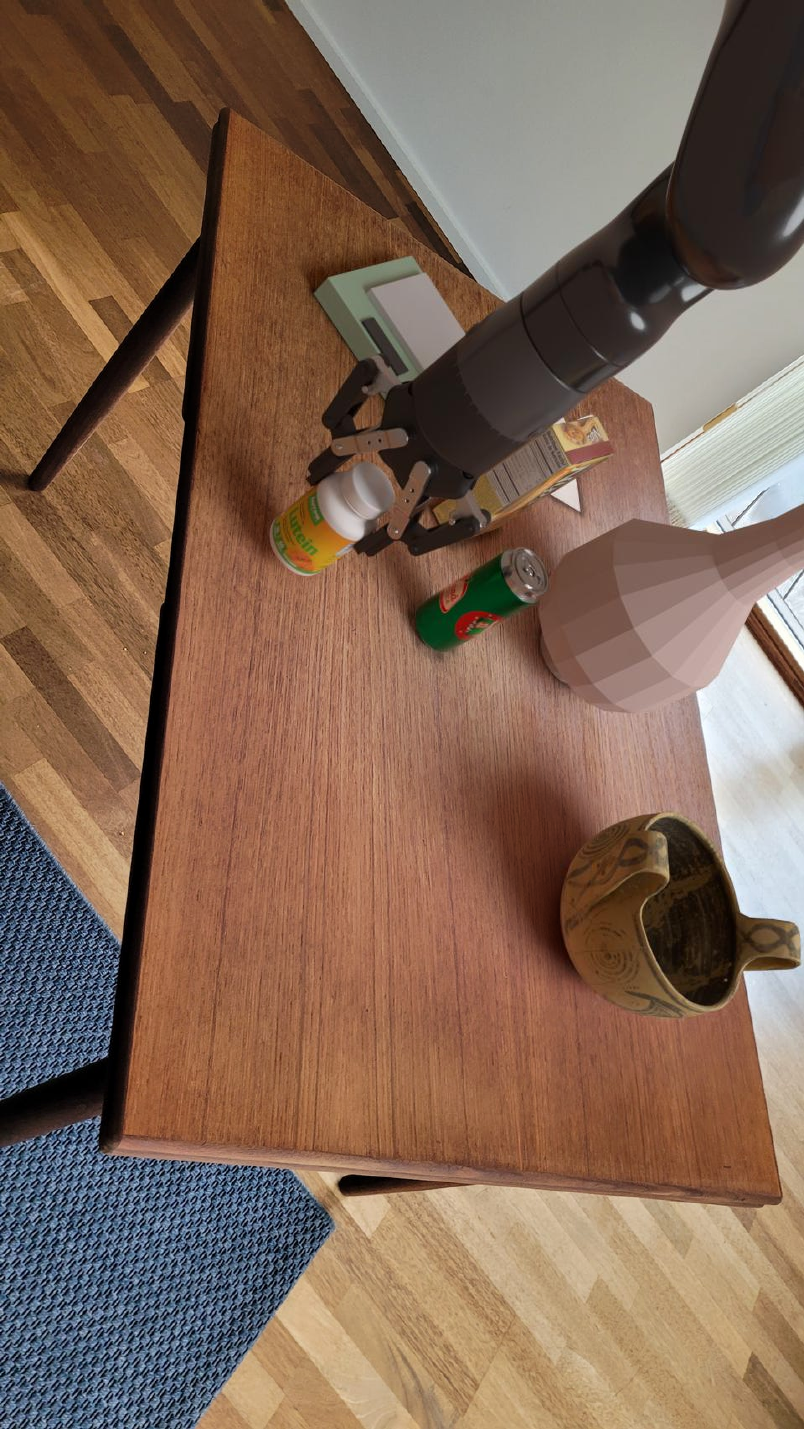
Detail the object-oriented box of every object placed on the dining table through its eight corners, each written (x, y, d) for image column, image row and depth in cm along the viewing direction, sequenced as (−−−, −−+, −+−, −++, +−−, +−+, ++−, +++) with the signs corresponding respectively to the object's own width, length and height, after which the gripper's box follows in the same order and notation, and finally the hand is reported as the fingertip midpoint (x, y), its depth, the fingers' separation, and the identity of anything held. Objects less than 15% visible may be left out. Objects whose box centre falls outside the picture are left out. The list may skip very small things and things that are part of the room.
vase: (584, 582, 102) (847, 439, 81) (633, 731, 98) (921, 619, 78) (482, 571, 90) (760, 399, 69) (533, 739, 86) (843, 610, 65)
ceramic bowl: (492, 981, 72) (650, 953, 62) (512, 795, 81) (652, 743, 71) (662, 1060, 83) (821, 1047, 72) (662, 887, 92) (803, 854, 82)
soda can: (424, 593, 83) (521, 531, 74) (459, 633, 84) (558, 577, 76) (402, 623, 79) (501, 562, 71) (439, 665, 81) (540, 610, 72)
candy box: (478, 494, 94) (596, 412, 83) (497, 530, 94) (617, 452, 83) (429, 509, 87) (550, 422, 77) (450, 548, 88) (573, 466, 77)
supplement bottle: (255, 526, 69) (331, 461, 63) (299, 508, 73) (376, 444, 66) (292, 587, 70) (372, 528, 63) (334, 565, 74) (414, 508, 67)
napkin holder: (570, 436, 111) (607, 410, 107) (581, 512, 107) (620, 488, 103) (484, 380, 102) (521, 350, 98) (492, 461, 98) (531, 432, 94)
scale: (312, 293, 87) (332, 271, 85) (397, 269, 98) (416, 249, 96) (408, 435, 89) (429, 417, 87) (479, 396, 101) (500, 379, 98)
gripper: (586, 465, 60) (416, 575, 72) (467, 273, 58) (310, 418, 69) (542, 502, 55) (365, 614, 66) (408, 291, 52) (249, 445, 64)
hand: (338, 513), depth 68 cm, fingers closed on supplement bottle, 5 cm apart
